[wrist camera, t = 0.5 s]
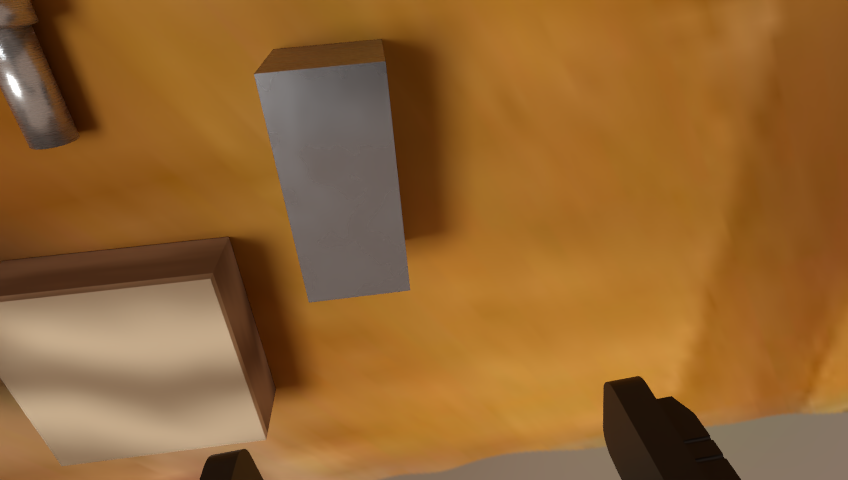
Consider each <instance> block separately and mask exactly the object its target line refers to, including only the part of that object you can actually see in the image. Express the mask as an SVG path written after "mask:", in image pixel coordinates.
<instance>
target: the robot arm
mask: <svg viewBox="0 0 848 480" xmlns="http://www.w3.org/2000/svg"><path fill="white" fill-rule="evenodd" d="M603 431H604V437H605V441H606V445H607V448H608V451H609V454H610V456H611V458H612V460H613V462H614V464H615V467H616V469H617V471H618V473H619V475H620V477H621V479H622V480H741V479H740V478H739V476H738V475H737V473H736V472H735V470H734V469H733V467H732V466H731V465H730V463H729V462H728V460H727V459H725V458H724V457H723V454H722V452H721V451H720V449H719V448H718V446H717V445H716V443H715V442H714V441H713V440H711V438H710V435H709V434H708V432H707V431H706V429H705V428H704V426H703V425H702V424H701V422H700V421H699V419H698V418H697V416H696V415H695V414H694V413H693V412H692V411H690V410H689V409H688V408H686V407H685V406H684V405H682V404H681V403H680V402H678V401H677V400H676V399H674V398H673V397H672V396H671V397H665V398H660V399H656V398H655V396H654V395H653V393H652V392H651V390H650V388H649V387H648V385H647V384H646V382H645V381H644V380H643V379H642V378H641V377H639V376H636V377H631V378H626V379H620V380H615V381H610V382H606V383H605V384H604V399H603ZM200 480H263V478H262V476H261V474H260V472H259V470H258V469H257V467H256V465H255V463H254V461H253V459H252V457H251V455H250V453H249V452H248V451H247V450H246V449H242V450H236V451H231V452H226V453H220V454H215V455H211V456H210V457H209V458H208V459H207V461H206V463H205V465H204V468H203V471H202V474H201V477H200Z"/></svg>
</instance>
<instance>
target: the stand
mask: <svg viewBox="0 0 848 480" xmlns="http://www.w3.org/2000/svg"><path fill="white" fill-rule="evenodd" d="M0 378H1V380H2V381H3V383H4V384H5V386H6V387H7V388H8V390H9V391H10V393H11V394H12V396H13V397H14V398H15V400H16V401H17V403H18V404H19V406H20V407H21V408H22V410H23V411H24V413H25V414H26V416H27V417H28V419H29V420H30V421H31V423H32V424H33V426H34V427H35V429H36V430H37V431H38V433H39V434H40V436H41V437H42V439H43V440H44V441H45V443H46V444H47V446H48V447H49V449H50V450H51V451H52V453H53V454H54V456H55V457H56V459H57V460H58V461H59V463H60V464H61V466H67V465H74V464H82V463H90V462H98V461H106V460H113V459H121V458H129V457H137V456H144V455H152V454H160V453H168V452H175V451H183V450H191V449H199V448H207V447H214V446H222V445H230V444H238V443H245V442H253V441H261V440H266V438H267V433H268V428H269V422H270V417H271V412H272V407H273V401H274V396H275V391H276V389H275V385H274V382H273V379H272V376H271V372H270V369H269V366H268V363H267V359H266V356H265V353H264V350H263V346H262V343H261V340H260V337H259V333H258V330H257V327H256V324H255V320H254V317H253V314H252V311H251V307H250V304H249V301H248V298H247V294H246V291H245V288H244V285H243V281H242V278H241V275H240V272H239V268H238V265H237V262H236V259H235V255H234V252H233V249H232V246H231V242H230V239H229V237H223V238H214V239H205V240H195V241H186V242H176V243H167V244H158V245H148V246H139V247H129V248H120V249H111V250H101V251H92V252H82V253H73V254H64V255H54V256H45V257H35V258H26V259H17V260H7V261H2V262H1V263H0Z"/></svg>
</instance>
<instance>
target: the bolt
mask: <svg viewBox="0 0 848 480" xmlns="http://www.w3.org/2000/svg"><path fill="white" fill-rule="evenodd" d="M38 22H39V20H38V18H37V15H36V13H35V11H34V8H33V6H32V4H31V1H30V0H0V88H1V90H2V92H3V94H4V96H5V98H6V100H7V102H8V104H9V106H10V108H11V110H12V112H13V114H14V116H15V118H16V121H17V123H18V125H19V127H20V129H21V131H22V133H23V135H24V137H25V139H26V141H27V143H28V145H29V147H30V148H31V149H48V148H54V147H58V146H62V145H65V144H68V143H71V142H73V141H75V140H77V139H78V138H79V137H80V136H79V133H78V131H77V129H76V126H75V124H74V122H73V119H72V117H71V115H70V113H69V110H68V108H67V106H66V103H65V101H64V99H63V96H62V94H61V92H60V89H59V87H58V85H57V83H56V80H55V78H54V76H53V73H52V71H51V69H50V66H49V64H48V62H47V59H46V57H45V55H44V53H43V50H42V48H41V46H40V43H39V41H38V39H37V36H36V34H35V32H34V30H33V27H32V25H31V24H35V23H38Z"/></svg>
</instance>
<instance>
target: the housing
mask: <svg viewBox="0 0 848 480" xmlns="http://www.w3.org/2000/svg"><path fill="white" fill-rule="evenodd" d="M254 76H255V80H256V84H257V88H258V92H259V96H260V101H261V105H262V109H263V113H264V117H265V121H266V126H267V130H268V134H269V138H270V142H271V146H272V150H273V155H274V159H275V163H276V167H277V171H278V175H279V180H280V184H281V188H282V192H283V196H284V200H285V205H286V209H287V213H288V217H289V221H290V225H291V230H292V234H293V238H294V242H295V246H296V250H297V254H298V259H299V263H300V267H301V271H302V275H303V279H304V284H305V288H306V292H307V296H308V300H309V302H317V301H325V300H333V299H342V298H350V297H358V296H367V295H375V294H383V293H392V292H400V291H408V290H410V284H409V275H408V266H407V256H406V247H405V238H404V228H403V219H402V210H401V200H400V191H399V182H398V172H397V163H396V154H395V144H394V135H393V126H392V116H391V107H390V98H389V88H388V79H387V70H386V61H385V55H384V49H383V44H382V39H376V40H366V41H355V42H345V43H334V44H324V45H313V46H303V47H292V48H281V49H273V50H272V51H271V53H270V54H269V55H268V57H267V58H266V59H265V60H264V62H263V63H262V64H261V66H260V67H259V68H258V70H257V71H256V72H255V73H254Z"/></svg>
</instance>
